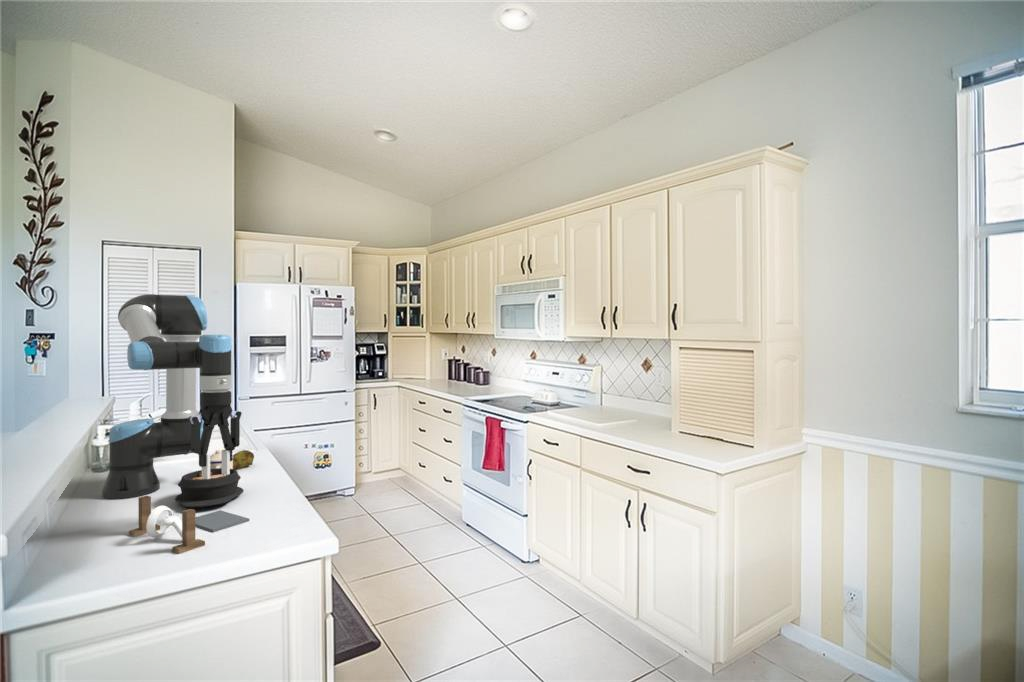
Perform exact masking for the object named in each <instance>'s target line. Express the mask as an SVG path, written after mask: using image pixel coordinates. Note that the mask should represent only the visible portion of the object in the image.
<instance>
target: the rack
mask: <svg viewBox="0 0 1024 682" xmlns="http://www.w3.org/2000/svg"><path fill="white" fill-rule="evenodd" d="M151 512H152V497H151V496H149V495H145V496H141V497H138V527H137V528H134V529H130V530H129V529H128V535H129V536H132V537H137V536H138V537H139V536H142V535H145V534H148V533H147V529H146V524H147V520H148V517H149V515H150V514H151ZM195 517H196V510H195V509H193V508H190V509H189V508H188V509H185V510H182V511H181V520H182V537H181V542H182V543H179V544H177V545H174V546H171V551H172V553H176V554H179V555H180V554H184V553H186V552H188V551H192V550H195V549H198V548H200V547H204V546H206V541H205V540H203V539H200V538H196V526H195ZM155 529H156V531H159V530H161V525H160V524H157V523H155Z"/></svg>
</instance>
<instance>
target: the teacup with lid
mask: <svg viewBox="0 0 1024 682" xmlns="http://www.w3.org/2000/svg"><path fill="white" fill-rule="evenodd" d="M222 450H223V449H217V450H215V452H214V453H212V454H210V469H216V468H222ZM233 459H234V458H233V455H232V461H230V469H233Z"/></svg>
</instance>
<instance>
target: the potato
mask: <svg viewBox="0 0 1024 682" xmlns="http://www.w3.org/2000/svg"><path fill="white" fill-rule="evenodd" d="M232 456H233V458H234V459H233V469H234V470H237V471H238V470H242V469H244V468H246V467H249V466H252V465H253V462H254V459H255V455H254V453H253V452H252V451H249V450H245V449H243V450H240V451H238V452H236V453H234V454H232Z"/></svg>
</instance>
